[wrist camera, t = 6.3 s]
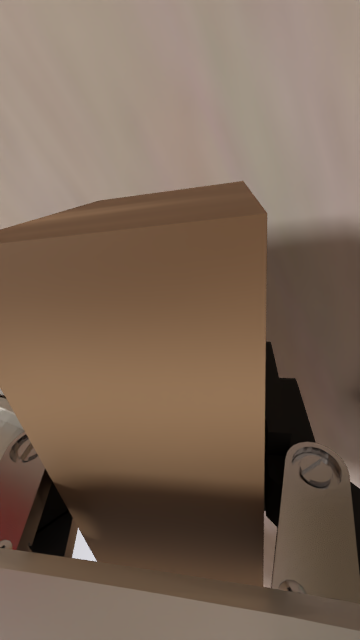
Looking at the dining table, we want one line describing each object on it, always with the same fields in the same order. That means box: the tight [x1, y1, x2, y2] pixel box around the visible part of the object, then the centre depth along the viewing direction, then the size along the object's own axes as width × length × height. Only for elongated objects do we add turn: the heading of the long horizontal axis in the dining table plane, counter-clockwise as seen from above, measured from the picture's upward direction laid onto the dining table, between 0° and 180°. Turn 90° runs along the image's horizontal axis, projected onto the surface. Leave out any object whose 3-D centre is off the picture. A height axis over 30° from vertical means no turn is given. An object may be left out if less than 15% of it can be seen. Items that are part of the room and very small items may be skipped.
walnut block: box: [0, 181, 267, 587], centre depth 9 cm, size 13×4×6 cm, turn 8°
